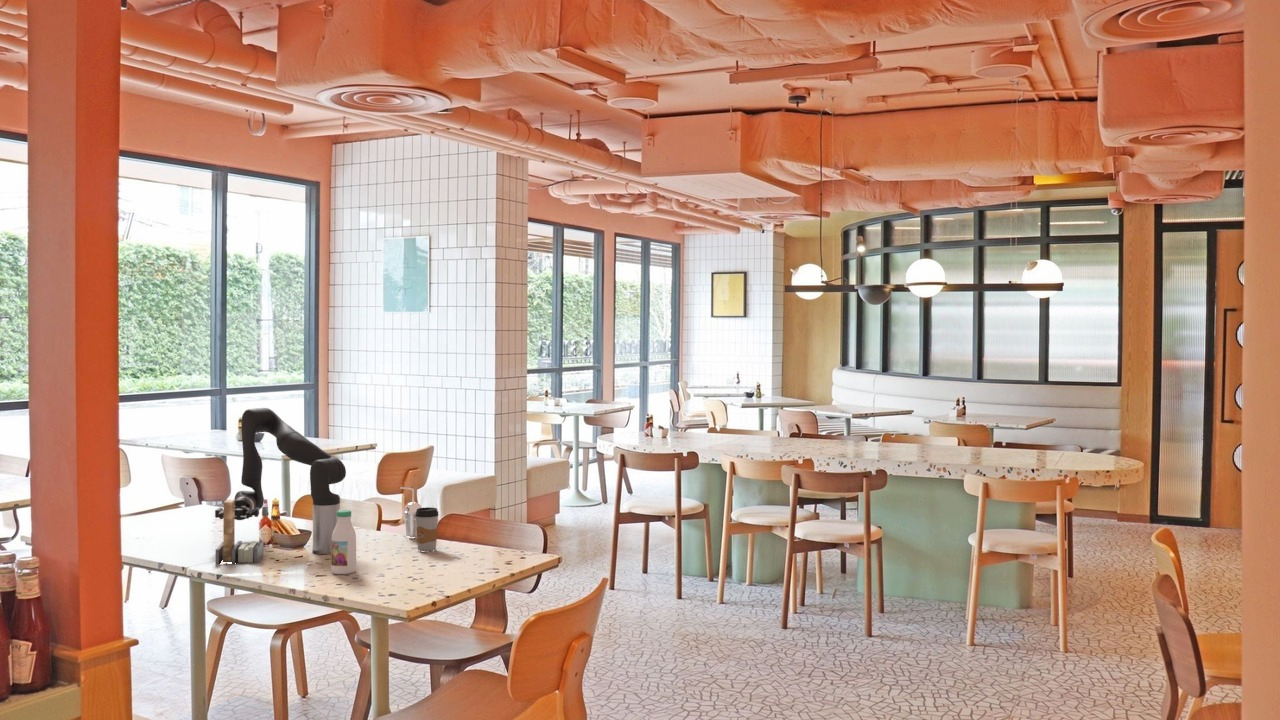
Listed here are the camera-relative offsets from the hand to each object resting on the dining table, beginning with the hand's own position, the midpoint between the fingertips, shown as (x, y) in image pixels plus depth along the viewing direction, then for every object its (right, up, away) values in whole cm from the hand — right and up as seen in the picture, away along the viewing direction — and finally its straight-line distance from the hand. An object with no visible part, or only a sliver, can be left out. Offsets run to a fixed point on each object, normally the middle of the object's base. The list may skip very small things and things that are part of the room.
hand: (234, 516), depth 338 cm
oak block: (+3, -13, -11) cm, 17 cm away
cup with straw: (+54, -14, +34) cm, 66 cm away
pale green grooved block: (+9, -13, -10) cm, 18 cm away
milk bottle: (+45, -15, -23) cm, 53 cm away
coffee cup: (+65, -14, +11) cm, 67 cm away
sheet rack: (+6, -14, -10) cm, 19 cm away
